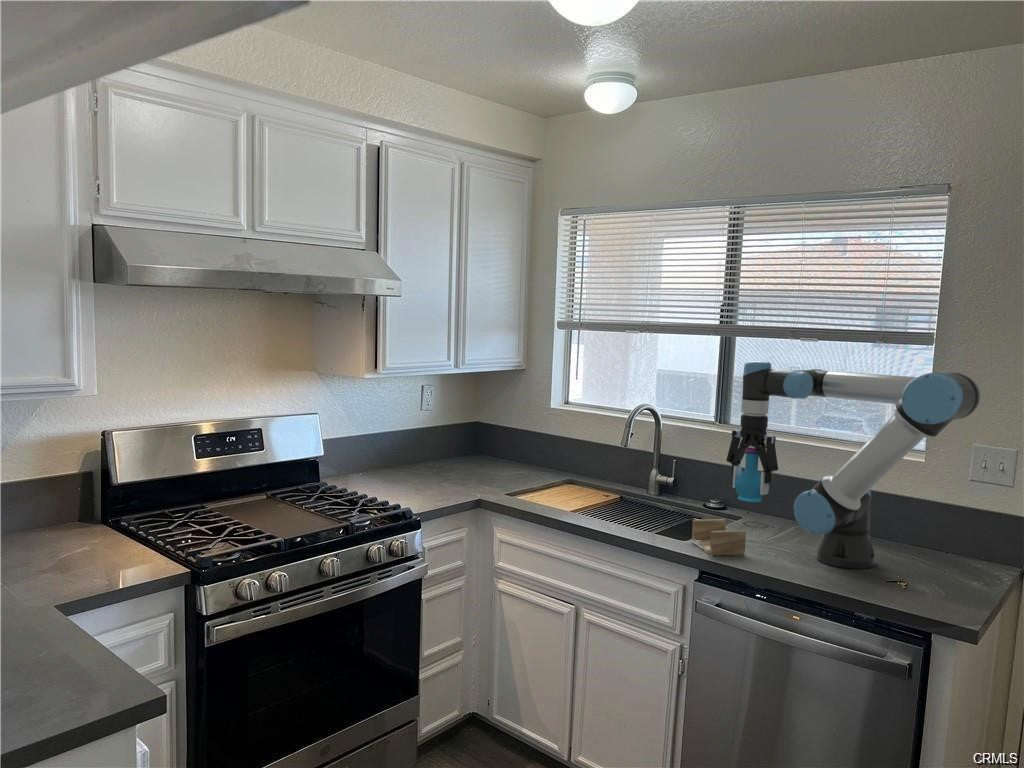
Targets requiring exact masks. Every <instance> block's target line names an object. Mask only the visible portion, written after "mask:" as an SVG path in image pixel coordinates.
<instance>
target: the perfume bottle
mask: <svg viewBox="0 0 1024 768" xmlns="http://www.w3.org/2000/svg"><path fill="white" fill-rule="evenodd" d="M745 451H746V452H745V454H744V455H745V465H744V470H742V472H741V474H740V476H739V477H738V478H737V479H736V480H735V481H734V485H735V488H734V489H735V490H736V491H735V492H736V494H737V495H738V497H737V499H738V500H740V501H744V502H748V503H750V502H751V503H758V502H762V497H764V495H761V494H760V486H761V473H760V472H759V455H758V452H757V450H756V449H755V447H748V448H746V449H745Z"/></svg>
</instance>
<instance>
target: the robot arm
mask: <svg viewBox="0 0 1024 768" xmlns="http://www.w3.org/2000/svg"><path fill="white" fill-rule="evenodd" d="M742 374H743V375H742V397H741V406H740V407H741V408H740V412H741V413H742V414H741V415H740V427H741V429H735V430H731V441H730V446H729V449H728V451H727V452H728V453H727V456H726V462H728V463H730V464H731V476H732V488H733V489H735V485H734V481H735V480H736V479H737V478H738V477H739V476H740V474H741V473H742V472H743V469H742V468H743V465H741V464H742V460H743V459H744V456H745V455H746V454H745V452H746V451H745V449H746V448H750V447H751V448H755V449H756V450H757V452H758V455H759V457H758V459H759V461H760V463H761V467H762V471H761V473H760V474H761V486H760V494H761V495H763V496H765V495H769V489H770V485H769V484H771V483H772V473H773V472H776V471H779V464H778V458H777V451H776V439H777V438H776V436H775V435H768V434H767V428H768V425H769V424H768V423H769V422H768V421H769V417H768V415H767V414H769V404H770V397H771V396H773V397H781V398H790V399H794V400H796V399H802V400H803V399H807V398H808V397H821V398H834V399H841V400H842V399H843V400H852V401H861V402H863V401H864V402H871V403H872V402H873V403H882V404H891V405H894V412H895V413H894V414H893V415H891V417H890V418H889V419H888V420H887V421H886V422H885V423H884V424H883V425H882V426H881V427H880V428H879V429H878V430H877V431H876V432H875V433H874V434H873V436H871V437H870V438H869V439H868V440H867V441H866V442H865V443H864V444H863V445H862V446H861V447H860V448H859V449H858V450H857V451H856V452H855V453H854V454H853V455H852V456H851V457H850V459H848V461H846V462H845V463H844V465H842V466H841V467H840V469H838V470H837V472H835V473H834V474H833V475H824V476H823V477H822V478H821V479H820V480H819V481H818V482H817V483H815V485H814V486H813V487H812V488H811V489H810V490H805V491H803V492H801V493H800V494H799V495H798V496H797V497H796V498H795V500H794V504H793V511H794V512H793V515H794V518H795V520H796V522H797V523H798V524H799V526H800V527H801V528H802V529H803V530H804V531H806V532H808V533H810V534H813V535H822V536H821V539H820V541H819V544H818V547H817V549H816V560H818V561H820V562H822V563H824V564H826V565H829V566H834V567H837V568H844V569H857V570H858V569H870V568H873V567H875V566H876V555H875V550H874V548H873V545H872V541H871V538H870V524H871V505H872V503H871V502H872V488H873V487H874V486H875V485H877V483H878V482H879V481H880V480H881V479H883V477H885V476H886V475H887V474H888V473H889V472H891V470H892V469H893V468H894V467H896V465H897V464H898V463H900V461H902V459H904V458H905V457H906V456H907V455H908V454H909V453H910V451H912V450H913V449H914V448H915V447H916V446H917V445H918V444H920V442H921V441H923V440H924V438H936V436H937V435H939V434H940V433H941V432H942V431H943V430H944V429H945V428H947V426H949V424H951V423H952V422H953V421H956V420H960V419H964V418H967V417H969V416H970V415H972V414H973V413H974V411H976V410H977V408H978V406H979V404H980V400H981V393H980V388H979V386H978V384H977V383H976V382H975V380H973V378H971V377H969V376H967V375H966V374H963V373H959V372H944V373H943V372H930V373H925V374H922V375H920V376H908V375H907V376H906V375H892V374H891V375H890V374H889V375H888V374H879V373H878V374H877V373H865V372H864V373H863V372H851V371H850V372H849V371H848V372H847V371H835V370H834V371H833V370H824V369H819V368H818V369H816V368H812V369H799V370H796V369H795V370H789V369H788V370H786V369H785V370H783V369H773V368H772V363H771V362H770V361H763V360H762V361H761V360H755V361H754V360H749V361H746V362H745V363H744V366H743V373H742Z"/></svg>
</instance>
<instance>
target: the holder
mask: <svg viewBox="0 0 1024 768" xmlns="http://www.w3.org/2000/svg"><path fill="white" fill-rule="evenodd" d="M726 523H727V522H726V519H724V518H714V519H712V518H710V519H709V518H708V519H707V518H706V519H692V526H691V527H692V529H691V533H692V534H691V535H692V536H691V540H695V539H696V540H701V541H699V542H698V543H699V545H701V546H702V547H703V548H704V549H705V550H706V551H707V552H708V553H710V554H711V555H733V556H745V553H746V537H747V534H746V533H747V531H746V530H744V529H739V530H738V529H736V530H733V529H731V530H726V526H727V525H726ZM696 540H695V541H696ZM701 542H702V543H701ZM708 553H707V554H708ZM711 555H710V556H711Z"/></svg>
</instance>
